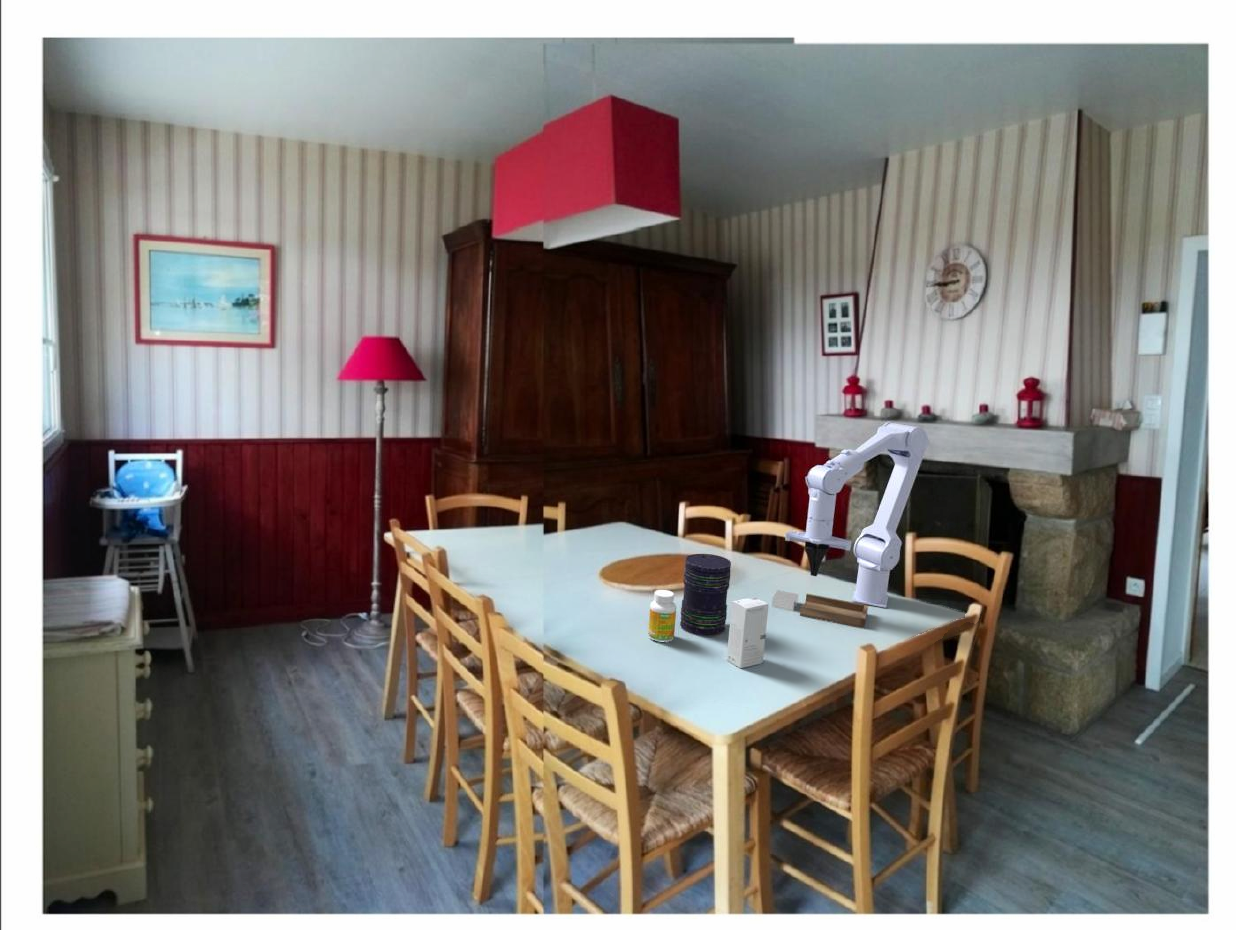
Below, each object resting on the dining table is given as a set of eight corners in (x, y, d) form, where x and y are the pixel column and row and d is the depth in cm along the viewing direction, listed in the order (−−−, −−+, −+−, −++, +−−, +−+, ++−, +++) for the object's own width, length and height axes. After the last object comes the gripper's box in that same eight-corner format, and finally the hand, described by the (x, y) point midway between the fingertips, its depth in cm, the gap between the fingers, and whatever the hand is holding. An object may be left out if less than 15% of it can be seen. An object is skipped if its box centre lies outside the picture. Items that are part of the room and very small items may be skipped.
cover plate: (776, 599, 176) (777, 590, 175) (797, 604, 174) (798, 594, 173) (771, 607, 170) (772, 597, 170) (792, 612, 168) (793, 602, 168)
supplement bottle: (656, 645, 145) (659, 599, 143) (643, 634, 150) (646, 590, 148) (678, 641, 148) (682, 596, 146) (665, 631, 152) (668, 587, 151)
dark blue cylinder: (732, 635, 152) (738, 568, 149) (688, 637, 150) (693, 568, 147) (715, 617, 161) (721, 553, 159) (673, 618, 159) (678, 553, 156)
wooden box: (805, 602, 174) (806, 593, 174) (867, 614, 169) (868, 605, 169) (799, 615, 166) (800, 606, 165) (863, 628, 160) (865, 619, 160)
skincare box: (740, 669, 137) (746, 609, 134) (725, 660, 140) (730, 600, 138) (764, 663, 140) (770, 604, 138) (748, 653, 144) (754, 596, 142)
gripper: (785, 517, 164) (779, 573, 167) (851, 526, 159) (844, 585, 161) (790, 510, 171) (785, 565, 173) (854, 520, 165) (847, 576, 168)
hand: (814, 574), depth 168 cm, fingers closed
